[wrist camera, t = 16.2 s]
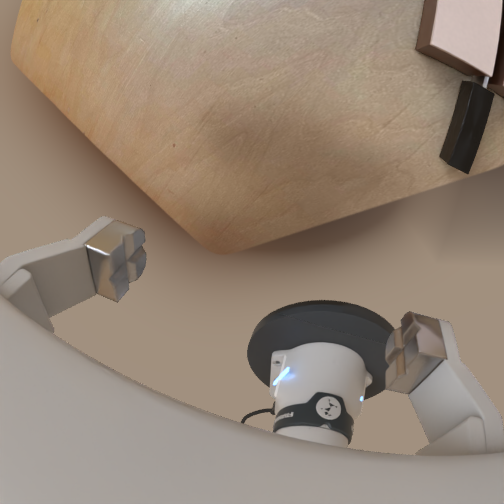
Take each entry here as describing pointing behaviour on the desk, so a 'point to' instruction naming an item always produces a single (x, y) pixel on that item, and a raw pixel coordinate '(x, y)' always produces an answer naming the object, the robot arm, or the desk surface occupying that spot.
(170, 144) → the desk surface
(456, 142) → the knife
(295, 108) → the desk surface
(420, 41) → the cake
